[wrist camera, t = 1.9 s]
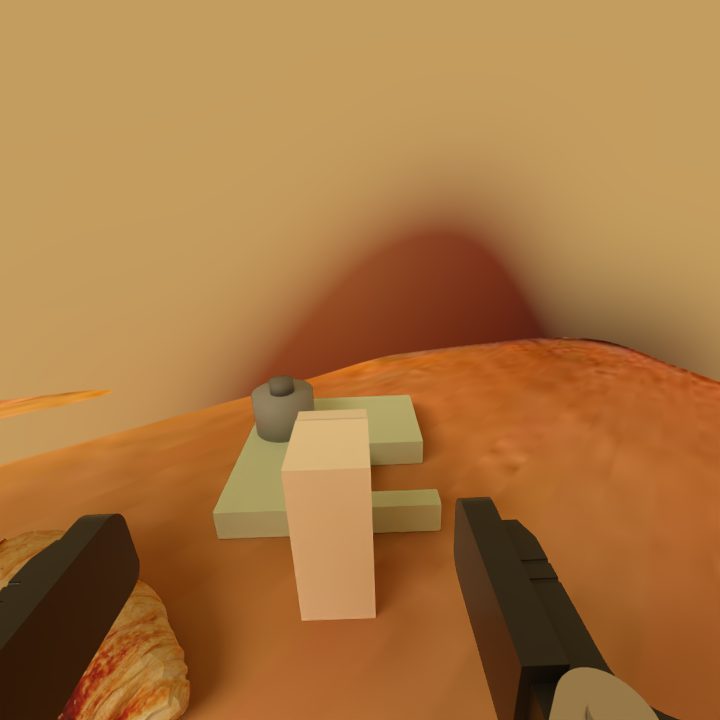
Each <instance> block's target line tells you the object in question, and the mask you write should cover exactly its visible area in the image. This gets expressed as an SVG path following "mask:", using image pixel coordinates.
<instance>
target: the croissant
mask: <svg viewBox="0 0 720 720" xmlns="http://www.w3.org/2000/svg"><path fill="white" fill-rule="evenodd" d="M66 532H67V531H37V532H29V533H24V534H22V535H20V536H18V537H16V538H14V539H11V540H6V539H4V540H2V541H1V542H0V590H1V589H2V588H3V587H7V585H8V582H9V581H10V580H11V578H12V577H13V576H14V575H15V574H16V573H17V572H18V571H19V570H20V569H21V568H22V567H23V566H24V565H25V564H26V563H27V562H28V560H29V559H31V558H32V557H34V556H35V555H36V554H38V553H39V552H40V551H42V550H43V549H45V548H46V547H47V546H49V545H50V544H51V543H53V542H54V541H56V540H60V539H61V537H62V536H63V535H64V534H65V533H66ZM138 579H139V578H138ZM184 655H185V652H184V651H183V650H182V648H181V647H180V646H179V644H178V642H177V639H176V637H175V634H174V631H173V630H172V629H171V627H170V625H169V622H168V616H167V611H166V608H165V606H164V604H163V603H162V601H161V599H160V597H159V596H158V595H157V594H156V593H155V591H154V590H153V589H152V588H151V587H150V586H149V585H147V584H146V583H144V582H143V581H142V580H137V583H136V586H135V588H134V590H133V592H132V593H131V595H130V597H129V598H128V600H127V602H126V603H125V605H124V607H123V609H122V610H121V612H120V614H119V615H118V617H117V619H116V620H115V622H114V624H113V626H112V627H111V629H110V631H109V632H108V634H107V636H106V637H105V639H104V641H103V642H102V644H101V646H100V648H99V649H98V651H97V653H96V654H95V656H94V658H93V659H92V661H91V663H90V664H89V666H88V668H87V670H86V671H85V673H84V675H83V676H82V678H81V680H80V681H79V683H78V685H77V686H76V688H75V690H74V692H73V693H72V695H71V697H70V698H69V700H68V702H67V703H66V705H65V707H64V708H63V710H62V712H61V714H60V715H59V717H58V719H57V720H177V719H178V718H179V717H180V716H181V715H182V714H183V713H184V712H185V710H186V709H187V707H188V703H189V695H190V681H189V680H187V679H186V675H187V673H188V666H187V665H185V664H184Z"/></svg>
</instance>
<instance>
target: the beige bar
mask: <svg viewBox="0 0 720 720" xmlns="http://www.w3.org/2000/svg"><path fill="white" fill-rule="evenodd" d="M281 476H282V483H283V490H284V497H285V505H286V512H287V519H288V526H289V533H290V540H291V548H292V555H293V562H294V569H295V576H296V583H297V591H298V598H299V605H300V612H301V619H302V621H309V620H335V619H362V618H376V608H375V579H374V550H373V522H372V493H371V466H370V449H369V432H368V417H367V410H366V409H351V410H325V411H300V412H298V416H297V420H295V424H294V427H293V431H292V434H291V438H290V441H289V445H288V448H287V452H286V455H285V459H284V462H283V466H282V469H281Z"/></svg>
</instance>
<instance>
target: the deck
mask: <svg viewBox="0 0 720 720" xmlns="http://www.w3.org/2000/svg"><path fill="white" fill-rule="evenodd" d="M251 398H252V404H253V410H254V417H255V424H254V426H253V428H252V430H251V433H250V435H249V437H248V439H247V441H246V443H245V445H244V447H243V449H242V452H241V454H240V456H239V458H238V460H237V462H236V464H235V466H234V469H233V471H232V473H231V475H230V477H229V479H228V481H227V483H226V485H225V488H224V490H223V492H222V494H221V496H220V498H219V500H218V502H217V505H216V507H215V509H214V511H213V513H212V514H213V519H214V523H215V527H216V532H217V536H218V539H230V538H256V537H283V536H290V533H289V526H288V519H287V512H286V505H285V497H284V490H283V483H282V476H281V469H282V466H283V462H284V459H285V455H286V452H287V448H288V445H289V441H290V438H291V434H292V431H293V427H294V424H295V420H297V416H298V412H300V411H325V410H351V409H366V410H367V417H368V432H369V449H370V465H393V464H418V463H423V439H422V435H421V432H420V429H419V425H418V422H417V418H416V415H415V411H414V408H413V405H412V401H411V398H410V395H394V396H369V397H344V398H319V399H313V388H312V386H311V384H309V383H308V382H306V381H303V380H297V379H293V378H292V377H291V376H285V375H283V376H277V377H274V378H271V379H270V380H269V381H268V383H265V384H263V385H261V386H259V387H257V388H256V389H255V390H254V391H253V392H252V394H251ZM371 493H372V522H373V533H387V532H413V531H439V530H440V528H441V508H442V504H441V500H440V497H439V494H438V490H437V489H422V490H396V491H371Z"/></svg>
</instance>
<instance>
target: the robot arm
mask: <svg viewBox="0 0 720 720" xmlns="http://www.w3.org/2000/svg"><path fill="white" fill-rule="evenodd" d="M454 559H455V566H456V571H457V575H458V579H459V583H460V586H461V590H462V593H463V597H464V601H465V604H466V608H467V611H468V615H469V618H470V622H471V625H472V629H473V633H474V636H475V640H476V643H477V647H478V650H479V654H480V657H481V661H482V665H483V668H484V672H485V675H486V679H487V682H488V686H489V690H490V693H491V697H492V700H493V704H494V707H495V711H496V714H497V718H498V720H679V719H676V718H673V717H671V716H668V715H666V714H664V713H662V712H660V711H658V710H656V709H654V708H652V707H651V706H649V705H648V704H647V703H646V701H645V700H644V699H643V698H642V697H641V696H640V695H639V694H638V693H637V692H636V691H635V690H634V689H632V688H631V687H630V686H629V685H627V684H626V683H625V682H623V681H622V680H620V679H618V678H617V677H616V676H615V675H614V674H613V673H612V671H611V670H610V669H609V667H608V666H607V664H606V663H605V661H604V659H603V658H602V656H601V654H600V652H599V650H598V649H597V647H596V645H595V643H594V641H593V640H592V638H591V636H590V634H589V632H588V631H587V629H586V627H585V625H584V623H583V622H582V620H581V618H580V616H579V614H578V613H577V611H576V609H575V607H574V605H573V604H572V602H571V600H570V598H569V596H568V595H567V593H566V591H565V589H564V587H563V586H562V584H561V582H559V581H558V577H557V575H556V573H555V571H554V569H553V568H552V566H551V564H550V563H548V559H547V557H546V555H545V553H544V551H543V550H542V548H541V546H540V544H539V542H538V541H537V539H536V537H535V536H534V535H533V534H532V533H531V532H529V531H528V530H527V529H526V528H525V527H524V526H523V525H522V524H521V523H520V522H519V521H517V520H501V518H500V516H499V514H498V511H497V509H496V507H495V505H494V503H493V501H492V500H491V498H490V497H476V498H458V499H457V501H456V511H455V531H454ZM138 576H139V559H138V556H137V553H136V550H135V547H134V544H133V542H132V539H131V536H130V533H129V530H128V527H127V524H126V521H125V519H124V517H123V516H122V515H121V514H98V515H85V516H82V517H81V518H79V519H78V520H77V521H76V522H75V523H74V524H73V525H72V526H71V528H70V529H69V530H68V531H67V532H66V533H65V534H64V535H63V536H62V537H61V539H60V540H56V541H54V542H53V543H51V544H50V545H49V546H47V547H46V548H45V549H43V550H42V551H40V552H39V553H38V554H36V555H35V556H34V557H32V558H31V559H29V560H28V562H27V563H26V564H25V565H24V566H23V567H22V568H21V569H20V570H19V571H18V572H17V573H16V574H15V575H14V576H13V577H12V578H11V580H10V581H9V582H8V585H7V587H3V588H2V589H1V590H0V720H57V719H58V717H59V715H60V714H61V712H62V710H63V708H64V707H65V705H66V703H67V702H68V700H69V698H70V697H71V695H72V693H73V692H74V690H75V688H76V686H77V685H78V683H79V681H80V680H81V678H82V676H83V675H84V673H85V671H86V670H87V668H88V666H89V664H90V663H91V661H92V659H93V658H94V656H95V654H96V653H97V651H98V649H99V648H100V646H101V644H102V642H103V641H104V639H105V637H106V636H107V634H108V632H109V631H110V629H111V627H112V626H113V624H114V622H115V620H116V619H117V617H118V615H119V614H120V612H121V610H122V609H123V607H124V605H125V603H126V602H127V600H128V598H129V597H130V595H131V593H132V592H133V590H134V588H135V586H136V583H137V580H138Z"/></svg>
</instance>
